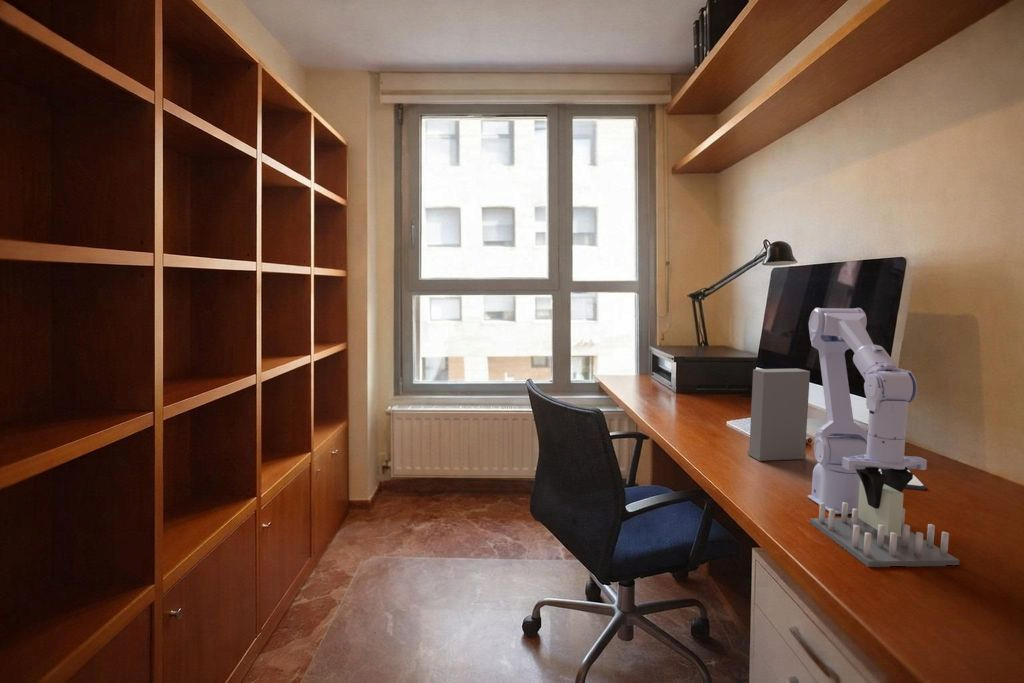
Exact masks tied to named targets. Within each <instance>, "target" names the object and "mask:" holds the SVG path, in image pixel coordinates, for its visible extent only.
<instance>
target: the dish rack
mask: <svg viewBox="0 0 1024 683" xmlns="http://www.w3.org/2000/svg"><path fill="white" fill-rule="evenodd" d="M825 505H826V504H825V503H823V502H820V505H819V511H818V512H819V513H818V517H817V518H816V517H815V518H814V517H811V518H809V524H811V525H812V526H813V527H814V528H816V529H817V530H819V531H820V532H821V533H822V534H824V535H825V536H826V537H827V538H829V539H830V540H832V541H833V542H834V541H835V542H834V543H835V544H837V545H838V544H839V545H838V546H840V547H841V548H842V547H843V548H842V549H843V550H845V551H846V550H847V551H846V552H847V553H849V554H850V555H852V556H853V557H854V558H856V559H857V560H858V561H859V562H861V563H862V564H863V565H864V566H866V567H867V568H880V567H881V568H889V567H890V566H906V567H947V566H946V565H953V566H952V567H955V566H954V565H959V566H960V559H958V558H957V557H954V556H953V555H951V554H950V553H948V551H949V539H950V538H949V537H950V533H949V532H947V531H941V538H940V547H938V546H936V545H935V544H934V540H935V529H936V525H935V524H933V523H928V524H927V532H926V539H924V533H923V532H921V531H916V532H915V533H914V532H913V531H911V526H910V525H909V524H907V523H905V516H906V508H904V507H903V510H902V525H901V536H897V535H898V534H897V533H895V532H891V533H890V536H886V535H884V533H885V526H884V525H880V524H879V525H878V530H876V529H875V528H873V527H872V526H870V525H868V524H867V523H865V522H864V521H862V520H860V519H859V518H858V511H859V510H858V509H855V508H853V509H852V514H851V517H848V515H849V514H848V503H846V502H842V514H841V517H836V514H835V510H834V509H829V511H828V517H826V509H825ZM890 568H891V567H890Z"/></svg>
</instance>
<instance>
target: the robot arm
mask: <svg viewBox="0 0 1024 683" xmlns="http://www.w3.org/2000/svg"><path fill="white" fill-rule="evenodd" d="M867 323H868V321H867V315H866V312H865V311H864V310H863V309H862V307H856V308H836V307H835V308H831V307H830V308H828V307H827V308H826V307H825V308H823V307H822V308H821V307H815V308H814V309H813V310H812V311H811V313H810V316H809V319H808V331H809V340H810V343H811V347H813V348H814V349H816V350H817V351H818V355H819V356H818V357H819V364H820V372H821V373H820V374H821V379H822V388H823V396H824V404H825V405H824V406H825V412H826V414H825V415H826V423H825V424H824V425H821V427H819V428H818V429H817V430H816V431H815V432H814V444H813V453H814V458H815V460H816V461H817V464H815V466H814V468H813V470H812V480H811V481H812V482H811V494H808V495H807V498H809V499H810V500H811V501H813V502H814V503H816V504H817V505H819V506H820V502H823V503H825V504H826V505H825V511H827V512H829V509H834V510H835V515H842V502H846V503H848V515H852V509H853V508H855V509H858V503H859V487H860V479H861V481H862V483H863V486H864V489H865V493H866V497H867V502H868V505H870V506H872V507H873V508H875V509H879V506H880V502H881V492H882V488H883V485H884V484H885V485H887V486H889V487H891V488H893V489H895V490H898V491H900V492H902V493H903V491H904V489H906V488H905V486H906V485H907V484H908V483H909V482H910V481H911V480H912V479H913V474H914V473H913V472H912V471H911V472H912V473H911V472H909V471H908V469H909V470H912V469H913V470H916V469H917V470H919V471H920V470H921V471H926V470H927V463H928V460H927V459H925V458H923V457H920V456H913V455H912V456H911V455H910V456H908V455H905V448H906V436H907V424H908V423H907V422H908V412H909V410H908V408H909V403H912V402H913V401H915V399H916V397H917V395H918V394H917V393H918V383H917V380H916V377H915V376H914V373H913V372H912V371H910V370H908V369H906V370H905V369H904V368H899V366H898V365H897V364H896V363H895V362H894V360H893V358H892V357H891V356H890V355H889V353H888V352H887V351H886V349H885V348H884V347H883V346H882V345H878V344H874V343H873V340H872V338H871V337H870V335H869V333H868V331H867ZM850 349H851V350H852V352H853V353H854V354H853V357H852V361H853V362H852V363H853V364H854V365H855V368H857V370H858V371H859V373H860V375H861V376H862V377H863V378H862V379H863V380H864V383H863V389H864V395H865V401H866V402H865V403H866V404H865V405H866V409H868V410H869V411H868V421H867V422H868V425H867V430H866V429H864V428H863V427H861V426H860V425H859V424H857V423H856V422H855V421H854V416H853V413H854V412H853V408H852V400H851V393H850V386H849V380H848V379H849V378H848V370H847V364H846V362H847V361H846V356H845V354H846V351H847V350H850ZM879 469H881V471H879ZM881 472H882V474H881Z"/></svg>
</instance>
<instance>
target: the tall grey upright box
mask: <svg viewBox="0 0 1024 683" xmlns="http://www.w3.org/2000/svg"><path fill="white" fill-rule="evenodd" d="M810 376H811V371H810V370H806V369H801V368H760V369H759V368H758V369H756V368H755V369H754V368H753V370H752V384H751V385H752V386H751V387H752V388H751V405H750V406H751V408H750V409H751V410H750V428H749V429H750V430H749V447H748V448H749V449H748V450H747V451H746V452H747V455H748V456H749V457H752V458H753V459H756V460H757V461H759V462H763V461H764V462H765V461H784V460H785V461H787V460H801V461H803V460H805V459H806V458H807V454H806V446H807V445H806V444H807V430H808V428H807V427H808V413H809V412H808V411H809V410H808V409H809V398H810V397H809V395H810V394H809V393H810V378H811V377H810Z"/></svg>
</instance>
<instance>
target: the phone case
mask: <svg viewBox="0 0 1024 683" xmlns="http://www.w3.org/2000/svg"><path fill="white" fill-rule="evenodd" d="M879 471H881V469H879ZM908 471H909V472H911V473H913V472H912V471H911V469H908ZM881 474H882V472H881ZM907 488H908V489H909V490H916V489H917V491H925V490H926V485H925V484H924V483H923V482H922V481H921V480H920V479H919V478H918V477H917V476H916V475H915V474H914V473H913V479H912V480H911V481H910V482H909V483H908V484H907V485H906V486H905V488H904V489H907Z"/></svg>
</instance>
